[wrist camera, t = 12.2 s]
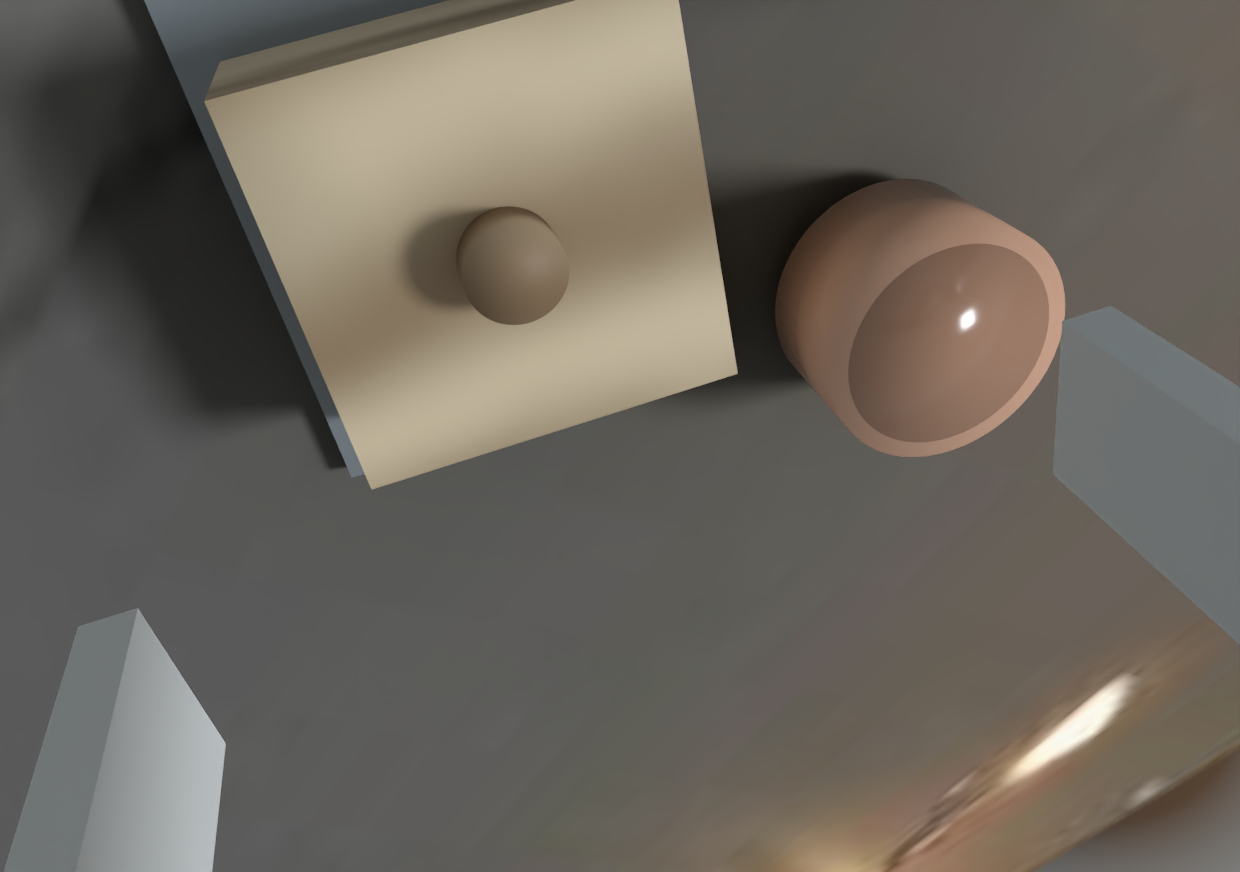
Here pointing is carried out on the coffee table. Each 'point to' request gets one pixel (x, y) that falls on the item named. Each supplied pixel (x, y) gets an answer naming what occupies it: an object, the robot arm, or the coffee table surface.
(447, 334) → the lid
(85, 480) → the coffee table surface
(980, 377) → the bowl
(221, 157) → the mat
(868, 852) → the coffee table surface
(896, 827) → the coffee table surface
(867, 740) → the coffee table surface
